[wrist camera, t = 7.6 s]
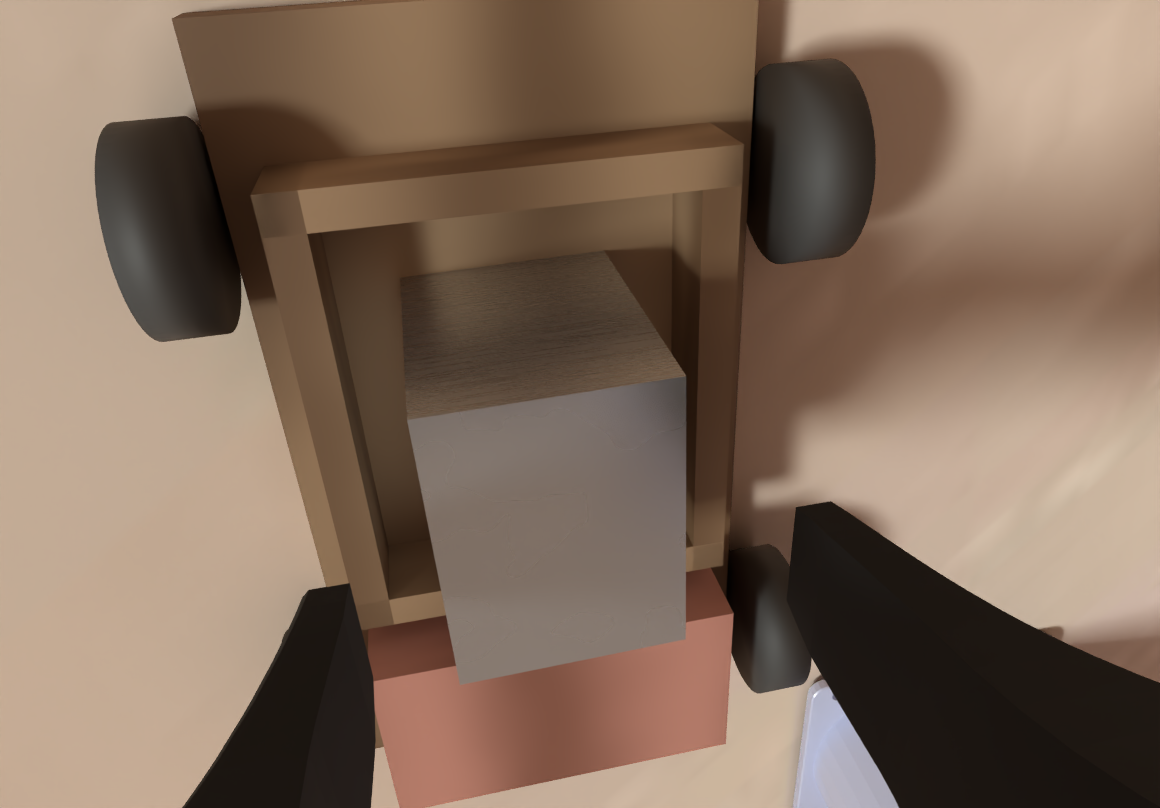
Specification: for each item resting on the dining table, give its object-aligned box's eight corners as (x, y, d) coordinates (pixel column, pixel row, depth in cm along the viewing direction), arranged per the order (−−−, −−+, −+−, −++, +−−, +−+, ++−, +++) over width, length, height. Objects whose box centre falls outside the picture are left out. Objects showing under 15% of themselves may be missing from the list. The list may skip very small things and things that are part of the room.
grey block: (603, 250, 19) (686, 376, 14) (615, 470, 22) (685, 639, 17) (400, 277, 18) (407, 420, 13) (441, 499, 21) (459, 684, 16)
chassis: (800, -32, 18) (901, -18, 14) (749, 648, 28) (799, 750, 24) (109, 18, 16) (33, 47, 12) (328, 730, 26) (320, 853, 22)
